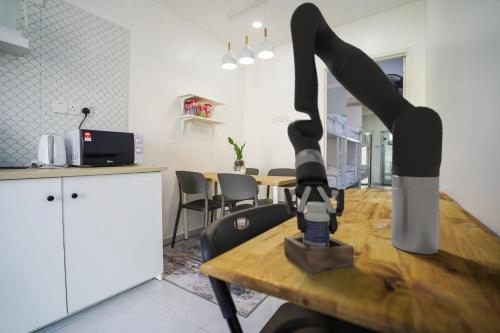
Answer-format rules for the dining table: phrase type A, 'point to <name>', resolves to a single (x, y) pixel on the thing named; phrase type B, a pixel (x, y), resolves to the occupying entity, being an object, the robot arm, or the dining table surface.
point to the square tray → (319, 254)
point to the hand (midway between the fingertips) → (318, 231)
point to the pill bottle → (316, 226)
